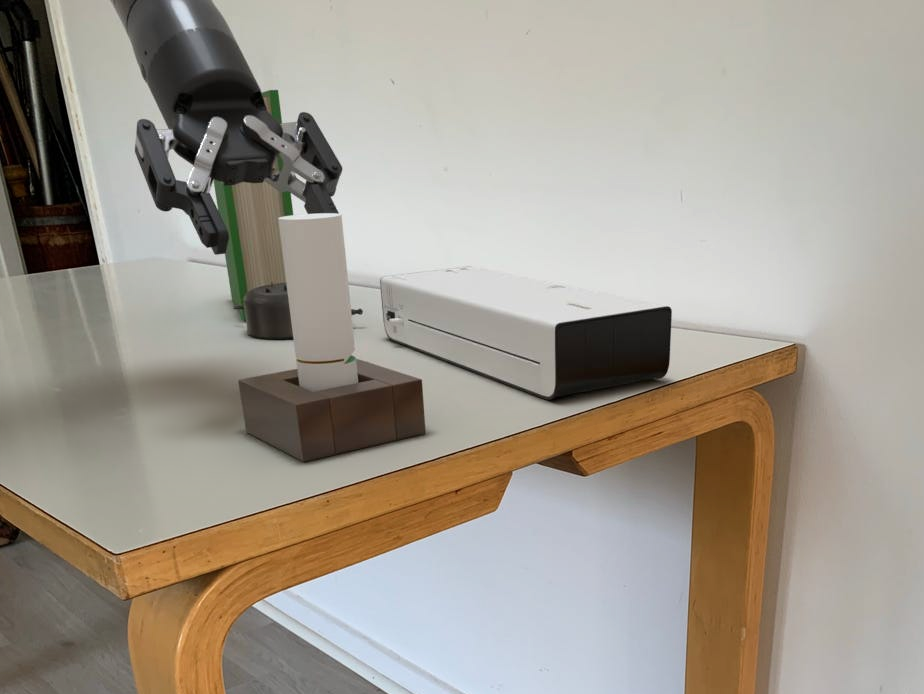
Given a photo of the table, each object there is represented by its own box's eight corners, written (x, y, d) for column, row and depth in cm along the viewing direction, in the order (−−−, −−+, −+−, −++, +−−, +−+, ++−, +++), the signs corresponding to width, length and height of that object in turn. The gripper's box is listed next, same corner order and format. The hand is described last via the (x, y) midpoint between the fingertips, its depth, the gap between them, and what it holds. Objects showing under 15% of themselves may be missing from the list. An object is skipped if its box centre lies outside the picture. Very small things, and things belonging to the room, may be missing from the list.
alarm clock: (372, 324, 112) (276, 322, 121) (365, 274, 110) (268, 275, 119) (301, 343, 104) (205, 338, 114) (293, 289, 102) (195, 289, 111)
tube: (327, 444, 71) (300, 220, 64) (294, 433, 74) (266, 218, 67) (374, 431, 74) (353, 214, 67) (341, 421, 77) (318, 212, 70)
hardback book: (305, 315, 120) (278, 89, 109) (244, 321, 118) (209, 92, 107) (287, 295, 135) (261, 94, 124) (232, 300, 133) (200, 97, 122)
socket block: (303, 462, 68) (295, 404, 66) (245, 432, 75) (237, 379, 73) (426, 433, 73) (422, 379, 71) (360, 407, 80) (355, 357, 78)
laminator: (669, 382, 83) (672, 305, 80) (545, 406, 78) (543, 325, 75) (476, 324, 110) (474, 265, 107) (375, 339, 105) (369, 278, 102)
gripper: (102, 24, 68) (190, 211, 65) (290, 24, 75) (378, 193, 72) (98, 113, 75) (178, 287, 72) (272, 106, 82) (352, 264, 78)
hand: (278, 240), depth 72 cm, fingers open, 8 cm apart
